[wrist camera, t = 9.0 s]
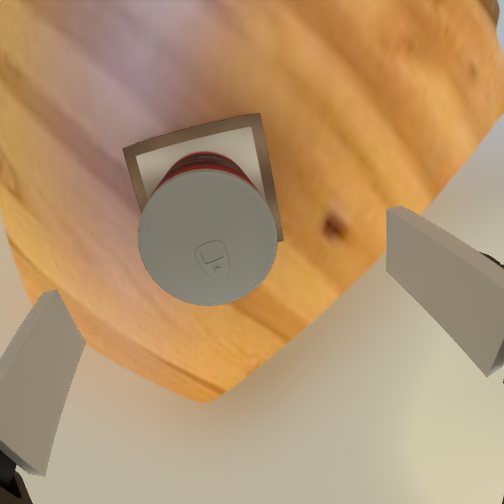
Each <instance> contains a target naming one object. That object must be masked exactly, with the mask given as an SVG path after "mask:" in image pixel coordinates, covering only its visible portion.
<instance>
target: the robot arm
mask: <svg viewBox="0 0 504 504" xmlns="http://www.w3.org/2000/svg"><path fill="white" fill-rule="evenodd" d="M386 219H387V256H386V259H387V260H386V271H387V272H388V273H389V274H390V275H391V276H392V277H393V278H394V279H395V280H396V281H397V282H398V283H399V284H400V285H401V286H402V287H403V288H404V289H405V290H406V291H407V292H408V293H409V294H410V295H411V296H412V297H413V298H414V299H415V300H416V301H417V302H418V303H419V304H420V305H421V306H422V307H423V308H424V309H425V310H426V311H427V312H428V313H429V314H430V315H431V316H432V317H433V318H434V319H435V320H436V321H437V322H438V323H439V324H440V326H441V327H442V328H443V329H444V330H445V331H446V332H447V333H448V334H449V335H450V336H451V337H452V338H453V340H454V341H455V342H456V343H457V344H458V345H459V346H460V347H461V348H462V349H463V351H464V352H465V353H466V354H467V355H468V356H469V357H470V358H471V360H472V361H473V362H474V363H475V364H476V365H477V367H478V368H479V369H480V370H481V371H482V372H483V373H484V375H485V376H486V377H488V376H489V375H491V374H492V373H494V372H495V371H496V370H498V369H499V368H501V367H502V366H503V364H504V265H503V264H502V265H500V262H498V261H497V260H495V259H494V258H492V257H491V256H489V255H487V254H484V253H481V252H479V251H477V250H475V249H474V248H472V247H471V246H469V245H467V244H466V243H464V242H463V241H461V240H459V239H458V238H456V237H455V236H453V235H452V234H450V233H448V232H447V231H445V230H443V229H442V228H440V227H438V226H437V225H435V224H433V223H432V222H430V221H428V220H427V219H425V218H423V217H421V216H420V215H418V214H416V213H414V212H413V211H411V210H409V209H407V208H405V207H404V206H398V207H394V208H389V209H386ZM85 344H86V342H85V340H84V338H83V337H82V335H81V333H80V331H79V330H78V328H77V326H76V324H75V323H74V321H73V319H72V317H71V316H70V314H69V312H68V310H67V308H66V306H65V304H64V302H63V301H62V299H61V297H60V295H59V293H58V291H57V289H56V290H52V291H48V292H44V293H43V294H42V295H41V296H40V298H39V299H38V301H37V302H36V304H35V305H34V306H33V308H32V309H31V311H30V312H29V314H28V316H27V317H26V319H25V320H24V321H23V323H22V324H21V326H20V327H19V329H18V331H17V332H16V334H15V336H14V337H13V339H12V340H11V342H10V344H9V345H8V347H7V348H6V350H5V352H4V354H3V355H2V357H1V359H0V504H33V503H32V501H31V499H30V497H29V494H28V492H27V489H26V487H25V484H24V482H23V479H22V477H21V476H20V475H19V473H18V472H16V471H15V468H16V465H18V466H19V467H21V468H22V469H23V470H24V471H26V472H27V473H28V474H32V475H38V476H43V477H45V475H46V470H47V466H48V462H49V457H50V453H51V449H52V445H53V442H54V437H55V434H56V431H57V427H58V424H59V420H60V417H61V413H62V410H63V407H64V404H65V400H66V397H67V394H68V391H69V388H70V385H71V382H72V379H73V377H74V373H75V371H76V368H77V365H78V362H79V360H80V357H81V354H82V352H83V349H84V347H85ZM503 383H504V381H503ZM502 504H504V498H503V502H502Z"/></svg>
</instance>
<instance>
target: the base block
mask: <svg viewBox="0 0 504 504" xmlns="http://www.w3.org/2000/svg"><path fill="white" fill-rule="evenodd" d="M204 151H208V152H216V153H219V154H221V155H224V156H226V157H228V158H230V159H231V160H233V161H234V162H235V163H236V164H237V165H238V166H239V167H240V168H241V169H242V170H243V172H244V173H245V174H246V175H247V177H248V178H249V179H250V180H251V182H252V183H253V184H254V186H255V187H256V188H257V189H258V191H259V192H260V194H261V195H262V196H263V198H264V200H265V201H266V202H267V204H268V206H269V208H270V210H271V213H272V215H273V218H274V222H275V226H276V230H277V242H280V241H284V239H283V233H282V227H281V221H280V215H279V210H278V204H277V199H276V193H275V188H274V182H273V177H272V172H271V166H270V161H269V156H268V151H267V146H266V140H265V135H264V130H263V125H262V120H261V116H260V113H256V114H249V115H244V116H239V117H234V118H230V119H225V120H221V121H216V122H212V123H208V124H203V125H199V126H195V127H191V128H188V129H184V130H180V131H176V132H173V133H169V134H166V135H162V136H159V137H155V138H152V139H149V140H145V141H142V142H139V143H136V144H133V145H130V146H128V147H125V148H123V152H124V156H125V159H126V163H127V167H128V170H129V174H130V177H131V181H132V184H133V187H134V191H135V194H136V197H137V200H138V204H139V207H140V210H141V213H142V212H143V210H144V208H145V206H146V203H147V201H148V200H149V198H150V196H151V195H152V193H153V192H154V190H155V189H156V187H157V186H158V185H159V183H160V182H161V180H162V179H163V178H164V176H165V175H166V173H167V172H168V171H169V169H170V168H171V167H172V166H173V165H174V164H175V163H176V162H177V161H178V160H179V159H181V158H183V157H185V156H187V155H189V154H192V153H195V152H204Z"/></svg>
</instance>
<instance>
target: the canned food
mask: <svg viewBox="0 0 504 504" xmlns="http://www.w3.org/2000/svg"><path fill="white" fill-rule="evenodd" d="M138 245H139V250H140V255H141V258H142V261H143V263H144V265H145V268H146V270H147V271H148V273H149V274H150V276H151V277H152V278H153V280H154V281H155V282H156V283H157V284H158V285H159V286H160V287H161V288H162V289H163V290H165V291H166V292H167V293H169V294H170V295H172V296H173V297H176V298H178V299H180V300H182V301H184V302H188V303H192V304H195V305H204V306H214V305H223V304H227V303H230V302H234V301H236V300H238V299H240V298H242V297H244V296H246V295H248V294H249V293H250V292H252V291H253V290H254V289H256V288H257V287H258V285H259V284H260V283H261V282H262V281H263V280H264V279H265V277H266V276H267V274H268V272H269V271H270V269H271V267H272V264H273V262H274V259H275V255H276V250H277V230H276V226H275V222H274V218H273V215H272V213H271V210H270V208H269V206H268V204H267V202H266V201H265V200H264V198H263V196H262V195H261V194H260V192H259V191H258V189H257V188H256V187H255V186H254V184H253V183H252V182H251V180H250V179H249V178H248V177H247V175H246V174H245V173H244V172H243V170H242V169H241V168H240V167H239V166H238V165H237V164H236V163H235V162H234V161H233V160H231V159H230V158H228V157H226V156H224V155H221V154H219V153H216V152H208V151H204V152H195V153H192V154H189V155H187V156H185V157H183V158H181V159H179V160H178V161H177V162H176V163H175V164H174V165H173V166H172V167H171V168H170V169H169V171H168V172H167V173H166V175H165V176H164V178H163V179H162V180H161V182H160V183H159V185H158V186H157V187H156V189H155V190H154V192H153V193H152V195H151V196H150V198H149V200H148V201H147V203H146V206H145V208H144V210H143V212H142V215H141V220H140V225H139V229H138Z"/></svg>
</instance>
